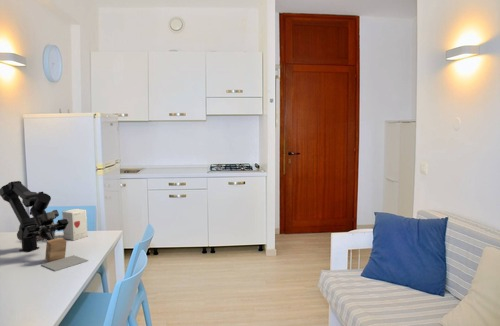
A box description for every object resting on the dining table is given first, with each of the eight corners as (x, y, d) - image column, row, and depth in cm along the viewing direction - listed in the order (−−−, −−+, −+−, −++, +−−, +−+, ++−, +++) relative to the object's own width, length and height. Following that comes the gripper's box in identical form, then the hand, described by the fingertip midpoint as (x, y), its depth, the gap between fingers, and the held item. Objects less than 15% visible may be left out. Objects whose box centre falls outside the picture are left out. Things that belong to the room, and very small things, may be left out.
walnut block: (45, 258, 179) (46, 240, 177) (60, 254, 185) (62, 237, 183) (49, 262, 177) (51, 244, 175) (64, 258, 183) (66, 240, 180)
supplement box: (73, 240, 210) (71, 213, 209) (63, 238, 215) (61, 211, 213) (88, 236, 218) (86, 209, 216) (78, 234, 223) (76, 208, 221)
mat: (41, 265, 174) (41, 264, 174) (73, 256, 186) (73, 255, 186) (55, 271, 167) (55, 270, 167) (88, 261, 179) (88, 260, 179)
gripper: (24, 209, 175) (38, 237, 169) (65, 201, 189) (79, 227, 184) (17, 224, 180) (30, 252, 174) (57, 216, 195) (71, 241, 189)
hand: (54, 242), depth 180 cm, fingers closed
